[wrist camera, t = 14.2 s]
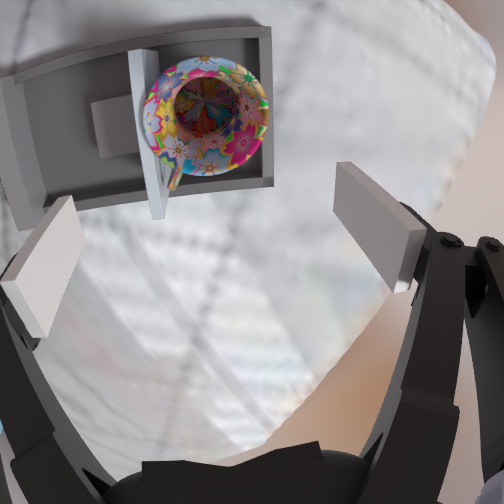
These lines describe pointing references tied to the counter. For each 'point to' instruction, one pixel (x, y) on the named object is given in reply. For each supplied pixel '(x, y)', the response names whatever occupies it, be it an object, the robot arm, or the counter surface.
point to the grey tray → (83, 131)
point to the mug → (204, 117)
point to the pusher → (134, 127)
